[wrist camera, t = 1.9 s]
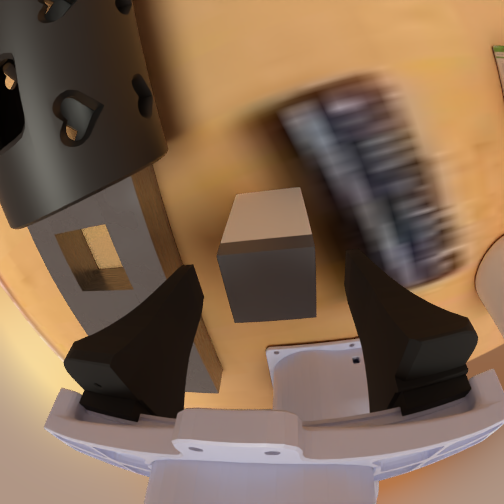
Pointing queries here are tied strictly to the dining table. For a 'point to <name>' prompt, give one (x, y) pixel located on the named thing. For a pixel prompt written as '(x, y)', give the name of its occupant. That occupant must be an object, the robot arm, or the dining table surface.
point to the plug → (269, 257)
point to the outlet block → (131, 256)
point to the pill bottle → (493, 283)
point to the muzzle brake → (71, 104)
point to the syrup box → (500, 62)
